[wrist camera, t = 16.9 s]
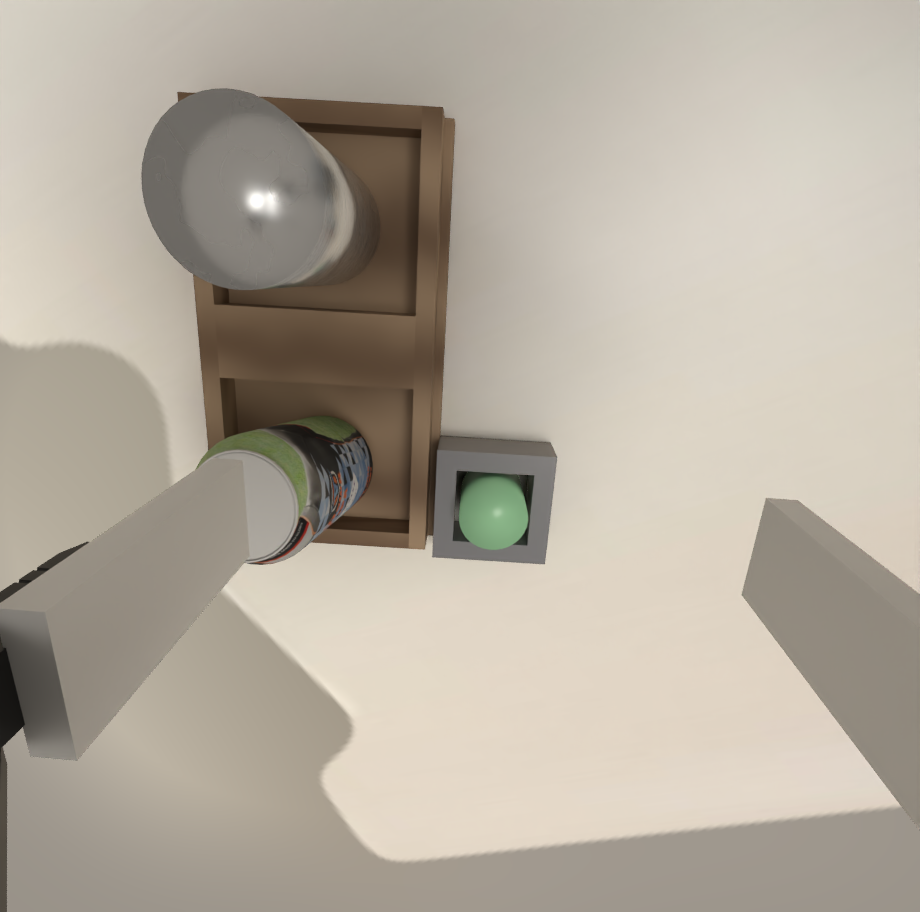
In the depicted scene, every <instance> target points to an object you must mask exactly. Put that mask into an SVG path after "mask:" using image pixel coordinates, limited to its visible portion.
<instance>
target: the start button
mask: <svg viewBox="0 0 920 912" xmlns="http://www.w3.org/2000/svg"><path fill="white" fill-rule="evenodd" d="M459 524H460V528H461V530H462V532H463V534H464V536H465V537H466V538H467V539H468V540H469V541H470V542H471V543H473V544H474V545H476V546H478V547H480V548H483V549H488V550H499V549H503V548H506V547H509V546H511V545H513V544H514V543H516V542H517V541H518V540H519V539H520V538H521V537H522V535H523V534H524V532H525V530H526V528H527V524H528V512H527V507H526V503H525V498H524V494H523V489H522V485H521V481H520V479H519V477H518V475H517V474H504V473H487V472H471V471H468V472H467V474H466V475H465V477H464V478H463V481H462V484H461V494H460V508H459Z"/></svg>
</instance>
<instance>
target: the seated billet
mask: <svg viewBox="0 0 920 912" xmlns="http://www.w3.org/2000/svg"><path fill="white" fill-rule="evenodd" d="M142 191H143V197H144V203H145V206H146V210H147V213H148V216H149V219H150V221H151V224H152V226H153V228H154V230H155V232H156V234H157V235H158V237H159V239H160V241H161V242H162V243H163V245H164V246H165V248H166V249H167V250H168V251H169V253H170V254H171V255H172V256H173V257H174V258H175V259H176V260H177V261H178V262H179V263H180V264H181V265H182V266H183V267H184V268H186V269H187V270H188V271H190V272H191V273H193V274H194V275H195V276H197V277H199V278H201V279H203V280H205V281H207V282H209V283H212V284H214V285H217V286H220V287H224V288H228V289H235V290H257V289H273V288H289V287H305V286H321V285H334V284H339V283H343V282H346V281H348V280H350V279H352V278H354V277H355V276H357V275H358V274H359V273H360V272H362V271H363V270H364V269H365V268H366V266H367V265H368V264H369V263H370V261H371V260H372V258H373V256H374V254H375V252H376V249H377V246H378V243H379V238H380V217H379V211H378V208H377V204H376V202H375V199H374V197H373V195H372V193H371V192H370V190H369V188H368V187H367V186H366V184H365V183H364V182H363V181H362V180H361V179H360V178H359V177H358V176H357V175H356V174H355V173H354V172H353V171H352V170H350V169H349V168H348V167H347V166H346V165H345V164H343V163H342V162H341V161H340V160H339V159H338V158H336V157H335V156H334V155H333V154H332V153H331V152H329V151H328V150H327V149H326V148H325V147H324V146H322V145H321V144H320V143H319V142H318V141H316V140H315V139H314V138H313V137H312V136H311V135H309V134H308V133H307V132H306V131H305V130H304V129H302V128H301V127H300V126H299V125H298V124H297V123H295V122H294V121H293V120H292V119H291V118H290V117H288V116H287V115H286V114H285V113H284V112H282V111H281V110H280V109H278V108H277V107H276V106H275V105H273V104H271V103H270V102H268V101H266V100H265V99H263V98H260V97H258V96H256V95H253V94H251V93H247V92H244V91H240V90H234V89H211V90H205V91H201V92H198V93H195V94H192V95H190V96H188V97H186V98H184V99H182V100H180V101H179V102H178V103H176V104H175V105H174V106H172V107H171V108H170V109H169V110H168V111H167V112H166V113H165V114H164V115H163V116H162V117H161V119H160V120H159V122H158V123H157V125H156V126H155V127H154V129H153V131H152V133H151V135H150V137H149V140H148V143H147V146H146V149H145V153H144V158H143V163H142Z"/></svg>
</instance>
